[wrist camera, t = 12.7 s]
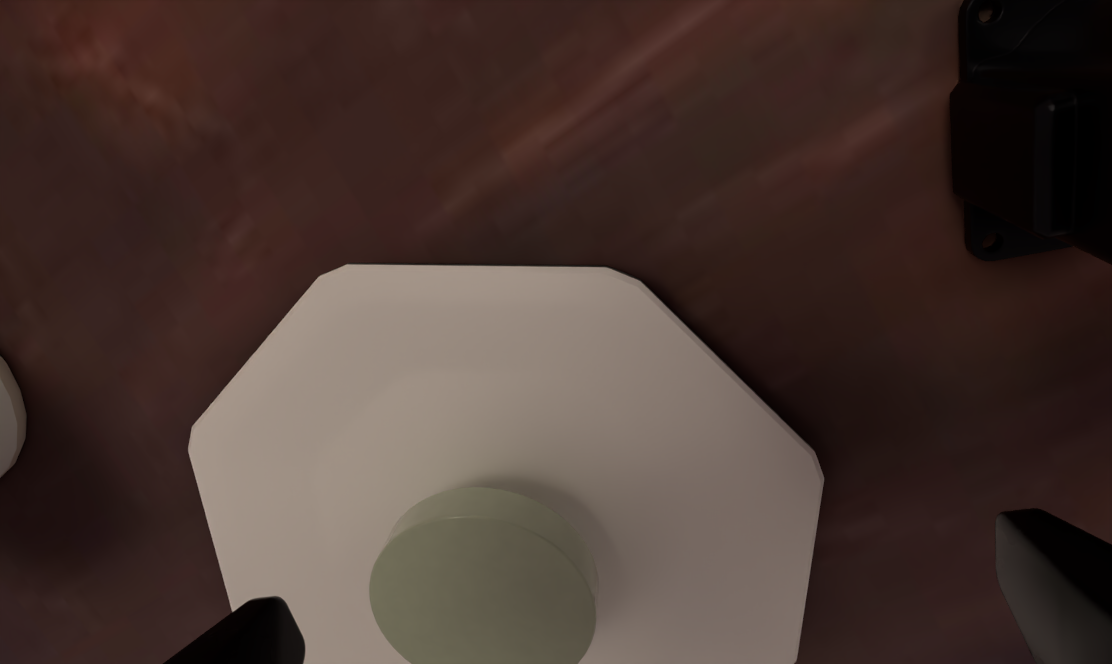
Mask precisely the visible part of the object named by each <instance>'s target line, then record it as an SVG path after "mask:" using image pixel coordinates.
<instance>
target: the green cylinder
mask: <svg viewBox="0 0 1112 664" xmlns="http://www.w3.org/2000/svg"><path fill="white" fill-rule="evenodd" d="M369 595H370V603H371V608H372V612H373V615H374V617H375V620H376V622H377V624H378V626H379V628H380V630H381V632H382V633H383V635H384V636H385V638H386V639H387V640H388V642H389V643H390V644H391V645H392V646H393V648H394V649H395V650H396V651H397V652H398V653H399V654H400V655H401V656H402V657H404V658H405V659H406V660H407V661H408V662H410V663H411V664H578V663H579V661H580V660H581V659H582V658H583V656H584V655H585V654H586V652H587V650H588V648H589V646H590V645H591V642H592V639H593V636H594V633H595V628H596V621H597V608H598V596H599V577H598V572H597V567H596V564H595V561H594V558H593V556H592V554H591V552H590V550H589V548H588V546H587V544H586V543H585V541H584V540H583V538H582V537H581V536H580V534H579V533H578V532H577V531H576V530H575V529H574V528H573V527H572V525H571V524H570V523H569V522H568V521H566V520H565V519H564V518H563V517H561V516H560V515H559V514H558V513H556V512H555V511H553V510H552V509H550V508H549V507H547V506H546V505H544V504H542V503H540V502H538V501H536V500H534V499H532V498H529V497H526V496H524V495H521V494H518V493H515V492H511V491H507V490H503V489H496V488H488V487H467V488H457V489H452V490H447V491H443V492H440V493H437V494H434V495H432V496H430V497H428V498H426V499H424V500H422V501H420V502H418V503H417V504H415V505H414V506H413V507H411V508H410V509H409V510H407V511H406V512H405V513H404V514H403V515H402V516H401V517H400V518H399V520H398V521H397V522H396V524H395V525H394V527H393V528H392V530H391V532H390V534H389V536H388V538H387V540H386V542H385V544H384V546H383V548H382V550H381V552H380V554H379V556H378V558H377V560H376V561H375V563H374V566H373V569H372V572H371V576H370V584H369Z"/></svg>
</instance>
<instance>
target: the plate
mask: <svg viewBox="0 0 1112 664" xmlns="http://www.w3.org/2000/svg"><path fill="white" fill-rule="evenodd" d="M188 452H189V456H190V459H191V463H192V467H193V470H194V474H195V478H196V481H197V485H198V489H199V492H200V496H201V500H202V503H203V507H204V510H205V514H206V518H207V521H208V525H209V529H210V532H211V536H212V540H213V543H214V547H215V550H216V554H217V558H218V561H219V565H220V569H221V572H222V576H223V580H224V583H225V587H226V590H227V594H228V598H229V601H230V605H231V609H232V612H233V611H235V610H236V609H237V608H239V607H240V606H242V605H243V604H244V603H246V602H247V601H249V600H251V599H254V598H260V597H269V596H278V597H281V598H282V599H283V600H285V602H286V603H287V605H288V607H289V609H290V611H291V613H292V615H293V617H294V619H295V621H296V623H297V625H298V627H299V629H300V631H301V633H302V635H303V638H304V641H305V650H306V651H305V659H304V663H303V664H411V663H410V662H408V661H407V660H406V659H405V658H404V657H402V656H401V655H400V654H399V653H398V652H397V651H396V650H395V649H394V648H393V646H392V645H391V644H390V643H389V642H388V640H387V639H386V638H385V636H384V635H383V633H382V632H381V630H380V628H379V626H378V624H377V622H376V620H375V617H374V615H373V612H372V608H371V603H370V595H369V584H370V576H371V572H372V569H373V566H374V563H375V561H376V560H377V558H378V556H379V554H380V552H381V550H382V548H383V546H384V544H385V542H386V540H387V538H388V536H389V534H390V532H391V530H392V528H393V527H394V525H395V524H396V522H397V521H398V520H399V518H400V517H401V516H402V515H403V514H404V513H405V512H406V511H407V510H409V509H410V508H411V507H413V506H414V505H415V504H417V503H418V502H420V501H422V500H424V499H426V498H428V497H430V496H432V495H434V494H437V493H440V492H443V491H447V490H452V489H457V488H467V487H488V488H496V489H503V490H507V491H511V492H515V493H518V494H521V495H524V496H526V497H529V498H532V499H534V500H536V501H538V502H540V503H542V504H544V505H546V506H547V507H549V508H550V509H552V510H553V511H555V512H556V513H558V514H559V515H560V516H561V517H563V518H564V519H565V520H566V521H568V522H569V523H570V524H571V525H572V527H573V528H574V529H575V530H576V531H577V532H578V533H579V534H580V536H581V537H582V538H583V540H584V541H585V543H586V544H587V546H588V548H589V550H590V552H591V554H592V556H593V558H594V561H595V564H596V567H597V572H598V577H599V596H598V608H597V621H596V628H595V633H594V636H593V639H592V642H591V645H590V646H589V648H588V650H587V652H586V654H585V655H584V656H583V658H582V659H581V660H580V661H579V663H578V664H794V663H795V662H796V661H797V655H798V649H799V642H800V635H801V629H802V622H803V616H804V609H805V602H806V596H807V589H808V583H809V576H810V569H811V563H812V556H813V550H814V543H815V537H816V530H817V523H818V517H819V510H820V504H821V497H822V490H823V484H824V476H823V473H822V470H821V467H820V465H819V462H818V459H817V456H816V453H815V452H814V450H813V448H812V447H811V446H810V445H809V444H808V443H807V442H806V441H805V440H804V439H803V438H802V437H801V436H800V435H799V434H798V433H797V432H796V431H795V430H794V429H793V428H792V427H791V426H790V425H789V424H787V423H786V422H785V421H784V420H783V419H782V418H781V417H780V416H779V415H778V414H777V413H776V412H775V411H774V410H773V409H772V408H771V407H770V406H769V405H768V404H767V403H766V402H765V401H764V400H763V399H762V398H761V397H760V396H759V395H758V394H757V393H756V392H755V391H754V390H753V389H752V388H751V387H750V386H749V385H748V384H747V383H746V382H745V381H744V380H743V379H741V378H740V377H739V376H738V375H737V374H736V373H735V372H734V371H733V370H732V369H731V368H730V367H729V366H728V365H727V364H726V363H725V362H724V361H723V360H722V359H721V358H720V357H719V356H718V355H717V354H716V353H715V352H714V351H713V350H712V349H711V348H710V347H709V346H708V345H707V344H706V343H705V342H704V341H703V340H702V339H701V338H700V337H699V336H698V335H697V334H695V333H694V332H693V331H692V330H691V329H690V328H689V327H688V326H687V325H686V324H685V323H684V322H683V321H682V320H681V319H680V318H679V317H678V316H677V315H676V314H675V313H674V312H673V311H672V310H671V309H670V308H669V307H668V306H667V305H666V304H665V303H664V302H663V301H662V300H661V299H660V298H659V297H658V296H657V295H656V294H655V293H654V292H653V291H652V290H650V289H649V288H648V287H647V286H646V285H645V284H644V283H643V282H642V281H641V280H640V279H639V278H636V277H634V276H632V275H629V274H627V273H624V272H622V271H619V270H617V269H614V268H612V267H609V266H605V265H511V264H416V263H348V264H346V265H344V266H341V267H339V268H337V269H334V270H332V271H330V272H327V273H325V274H323V275H321V276H319V277H318V278H317V279H316V280H315V282H314V283H313V284H312V285H311V286H310V288H309V289H308V290H307V291H306V292H305V293H304V295H303V296H302V297H301V298H300V299H299V301H298V302H297V303H296V304H295V305H294V307H293V308H292V309H291V310H290V311H289V312H288V314H287V315H286V316H285V317H284V318H283V320H282V321H281V322H280V323H279V324H278V325H277V327H276V328H275V329H274V330H273V331H272V333H271V334H270V335H269V336H268V337H267V339H266V340H265V341H264V342H263V343H262V344H261V346H260V347H259V348H258V349H257V350H256V352H255V353H254V354H253V355H252V356H251V357H250V359H249V360H248V361H247V362H246V363H245V365H244V366H243V367H242V368H241V369H240V371H239V372H238V373H237V374H236V375H235V376H234V378H233V379H232V380H231V381H230V382H229V384H228V385H227V386H226V387H225V388H224V389H223V391H222V392H221V393H220V394H219V395H218V397H217V398H216V399H215V400H214V401H213V403H212V404H211V405H210V406H209V407H208V408H207V410H206V411H205V412H204V413H203V414H202V416H201V417H200V418H199V419H198V420H197V421H196V423H195V424H194V425H193V426H192V430H191V435H190V441H189V446H188Z"/></svg>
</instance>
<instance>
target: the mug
mask: <svg viewBox="0 0 1112 664" xmlns="http://www.w3.org/2000/svg"><path fill="white" fill-rule="evenodd" d="M26 419H27V414H26V410H25V407H24V403H23V399H22V395H21V391H20V388H19V386H18V384H17V382H16V381H15V379H14V377H13V375H12V373H11V371H10V369H9V367H8V365H7V363H6V362H5V361H4V359H3V358H2V357H1V356H0V478H1V477H2V476H3V475H4V474H5V473H6V472H7V471H8V470H9V469H10V468H11V467H12V466H13V465H14V464H15V463H16V460H17V458H18V455H19V453H20V451H21V448H22V446H23V444H24V441H25V438H26Z"/></svg>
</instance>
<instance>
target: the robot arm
mask: <svg viewBox="0 0 1112 664" xmlns="http://www.w3.org/2000/svg"><path fill="white" fill-rule="evenodd" d="M984 1H986V0H964V2H963V3H962V5H961V7H960V11H959V17H958V18H959V53H960V82H959V83H958V84H957V85H956V86H955V88H954V89H953V91H952V92H951V93H950V121H951V150H952V179H953V192H954V194H956V195H957V196H959V197H960V198H962V199H963V200H964V227H965V244H966V248H967V250H968V251H969V252H970V253H971V254H972V255H974V256H975V257H977V258H979V259H981V260H984V261H996V260H1001V259H1007V258H1012V257H1018V256H1023V255H1029V254H1034V253H1040V252H1045V251H1051V250H1056V249H1062V248H1067V247H1073V246H1074V247H1076V248H1078V249H1080V250H1082V251H1084V252H1086V253H1088V254H1090V255H1093V256H1095V257H1097V258H1099V259H1101V260H1103V261H1105V262H1107V263H1109V264H1111V265H1112V0H989V1H991V2H992V3H993V6H994V11H993V15H992V16H991V17H990V19H989V20H988V21H986V22H984V23H983V22H982V21H980V20H979V18H978V14H977V13H978V9H979V7H980V5H981V4H982V3H983V2H984ZM991 233H996V236H997V237H996V241H995V242H994V243H993V244H992V245H991V246H989V247H987V248H983V246H982V242H983V239H984V238H985V237H986V236H987V235H989V234H991ZM995 551H996V574H997V579H998V583H999V586H1000V589H1001V591H1002V593H1003V596H1004V598H1005V600H1006V602H1007V604H1008V606H1009V608H1010V610H1011V612H1012V614H1013V616H1014V619H1015V621H1016V623H1017V625H1018V627H1019V629H1020V631H1021V633H1022V635H1023V637H1024V640H1025V642H1026V644H1027V646H1028V648H1029V650H1030V652H1031V654H1032V656H1033V658H1034V661H1035V663H1036V664H1112V545H1111V544H1109V543H1107V542H1105V541H1103V540H1101V539H1099V538H1097V537H1095V536H1093V535H1092V534H1090V533H1088V532H1086V531H1084V530H1082V529H1080V528H1078V527H1076V526H1074V525H1072V524H1070V523H1068V522H1066V521H1064V520H1062V519H1060V518H1058V517H1056V516H1054V515H1052V514H1050V513H1048V512H1046V511H1044V510H1041V509H1037V508H1030V509H1021V510H1013V511H1004V512H1001V513H1000V514H999V515H998V516H997V518H996V522H995ZM305 651H306V650H305V641H304V638H303V635H302V633H301V631H300V629H299V627H298V625H297V623H296V621H295V619H294V617H293V615H292V613H291V611H290V609H289V607H288V605H287V603H286V602H285V600H283V599H282V598H281V597H278V596H269V597H260V598H254V599H251V600H249V601H247V602H246V603H244V604H243V605H242V606H240V607H239V608H237V609H236V610H235V611H233V612H232V613H231V614H229V615H228V616H227V617H225V618H224V619H223V620H221V621H220V622H219V623H217V624H216V625H215V626H213V627H212V628H210V629H209V630H208V631H206V632H205V633H204V634H202V635H201V636H200V637H198V638H197V639H196V640H194V641H193V642H192V643H190V644H189V645H188V646H186V647H185V648H183V649H182V650H181V651H179V652H178V653H177V654H175V655H174V656H173V657H171V658H170V659H169V660H167V661H166V662H165V663H163V664H303V663H304V659H305Z"/></svg>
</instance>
